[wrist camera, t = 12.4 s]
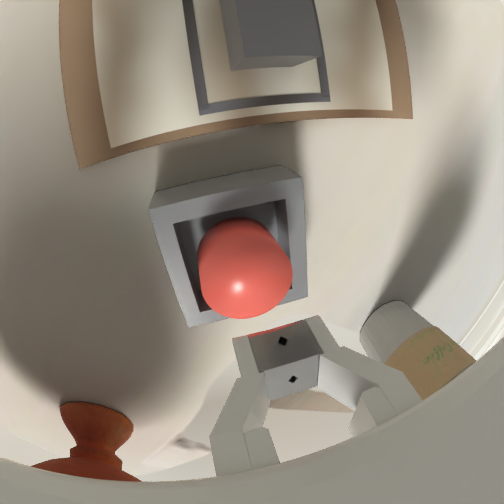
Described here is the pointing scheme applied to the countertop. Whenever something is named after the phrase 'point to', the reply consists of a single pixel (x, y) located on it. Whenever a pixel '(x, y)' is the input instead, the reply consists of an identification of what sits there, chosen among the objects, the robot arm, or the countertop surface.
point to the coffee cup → (413, 347)
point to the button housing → (220, 208)
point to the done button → (242, 268)
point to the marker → (269, 33)
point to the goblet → (93, 443)
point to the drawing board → (216, 72)
